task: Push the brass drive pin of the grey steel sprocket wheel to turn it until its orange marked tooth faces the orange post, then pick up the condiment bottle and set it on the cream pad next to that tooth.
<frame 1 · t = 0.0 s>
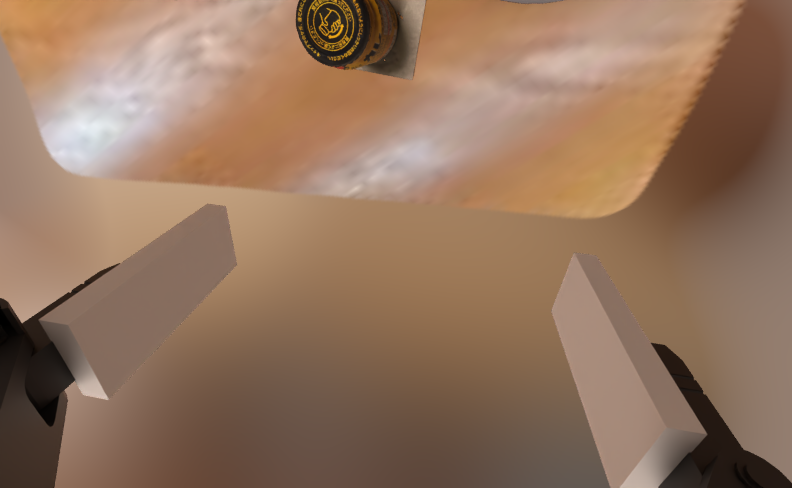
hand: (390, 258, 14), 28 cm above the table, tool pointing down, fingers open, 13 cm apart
condiment: (376, 30, 35), on the table
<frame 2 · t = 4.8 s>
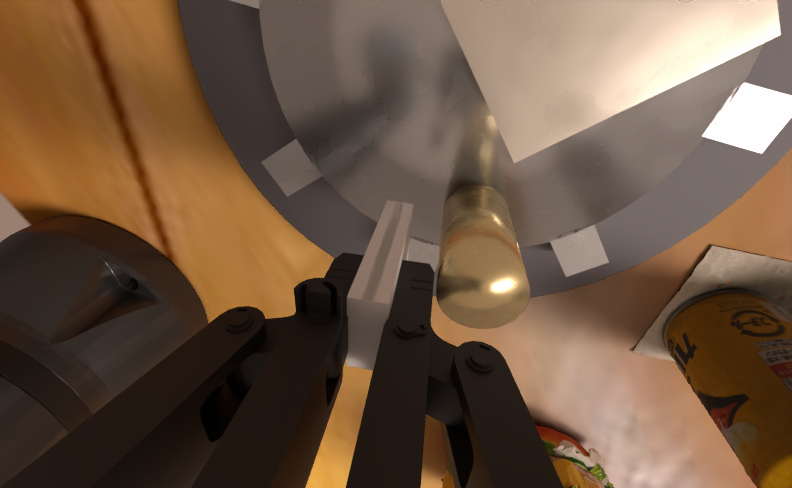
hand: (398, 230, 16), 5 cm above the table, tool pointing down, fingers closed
sprocket: (496, 46, 12), point 5 cm above the table, hinge at 5.7°, touching gripper
condiment: (726, 313, 22), on the table
burger: (516, 452, 32), on the table
sprocket base: (485, 41, 16), on the table
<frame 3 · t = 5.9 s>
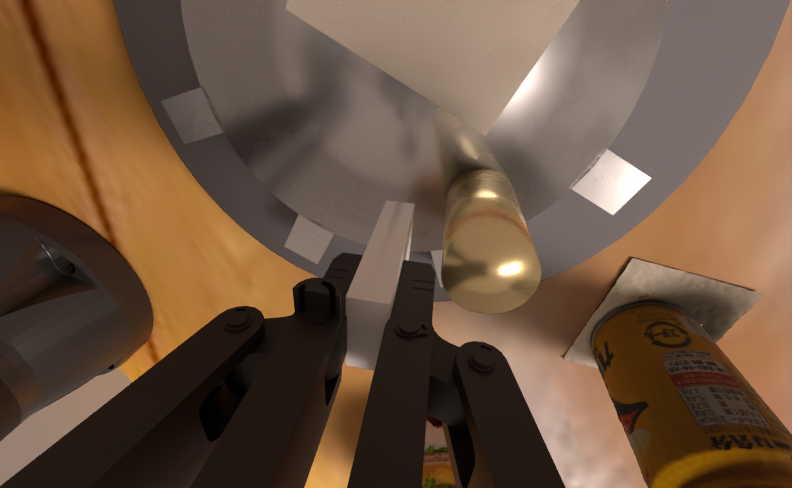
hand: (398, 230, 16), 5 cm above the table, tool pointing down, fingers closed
sprocket: (395, 50, 12), point 5 cm above the table, hinge at 38.5°, touching gripper
condiment: (649, 325, 22), on the table
burger: (458, 454, 32), on the table
sprocket base: (412, 47, 17), on the table
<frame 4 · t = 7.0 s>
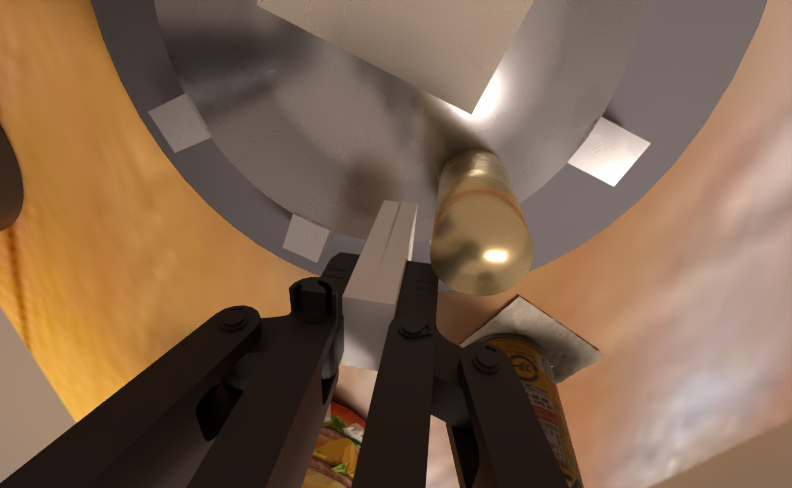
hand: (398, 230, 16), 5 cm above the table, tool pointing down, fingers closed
sprocket: (366, 34, 12), point 5 cm above the table, hinge at 65.0°, touching gripper
condiment: (514, 355, 25), on the table
burger: (318, 424, 33), on the table
sprocket base: (392, 33, 16), on the table
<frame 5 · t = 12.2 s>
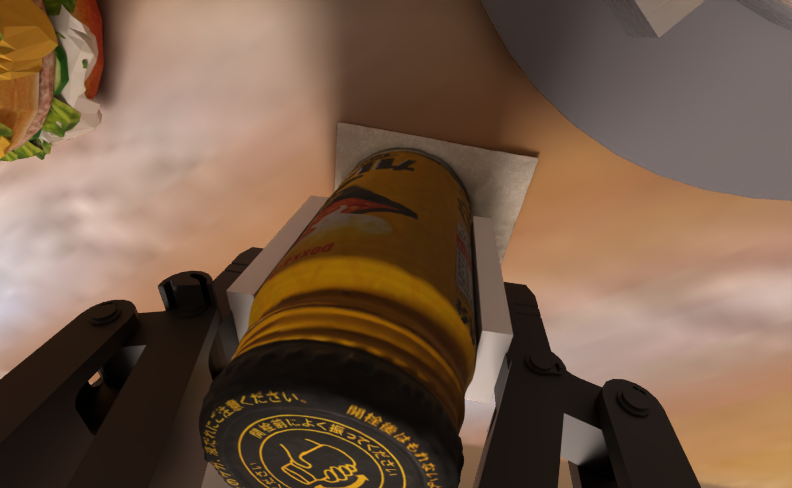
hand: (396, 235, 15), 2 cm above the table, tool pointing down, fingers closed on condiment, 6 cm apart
condiment: (421, 213, 17), on the table, touching gripper
when the fingers open (7 cm above the table, at t = 18.0 s): condiment drops 1 cm, resting on sprocket.
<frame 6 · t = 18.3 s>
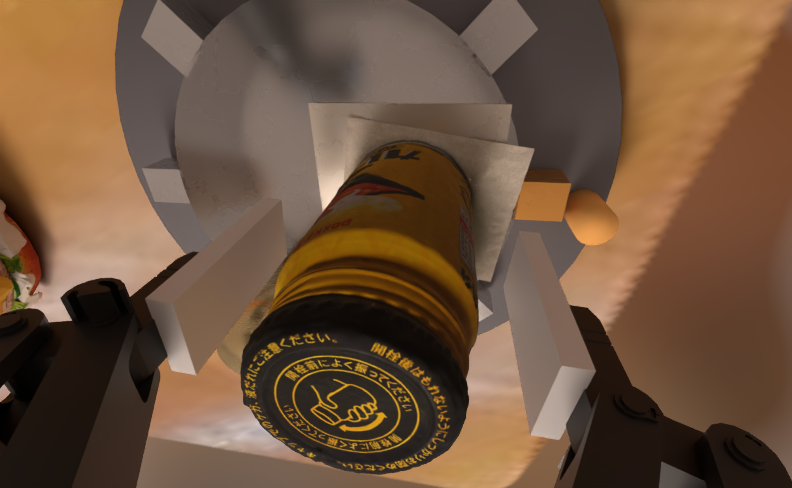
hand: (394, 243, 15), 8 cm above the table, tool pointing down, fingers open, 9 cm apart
sprocket: (329, 209, 17), point 5 cm above the table, hinge at 65.0°, touching condiment
condiment: (426, 202, 18), point 3 cm above the table, touching sprocket
sprocket base: (355, 172, 22), on the table
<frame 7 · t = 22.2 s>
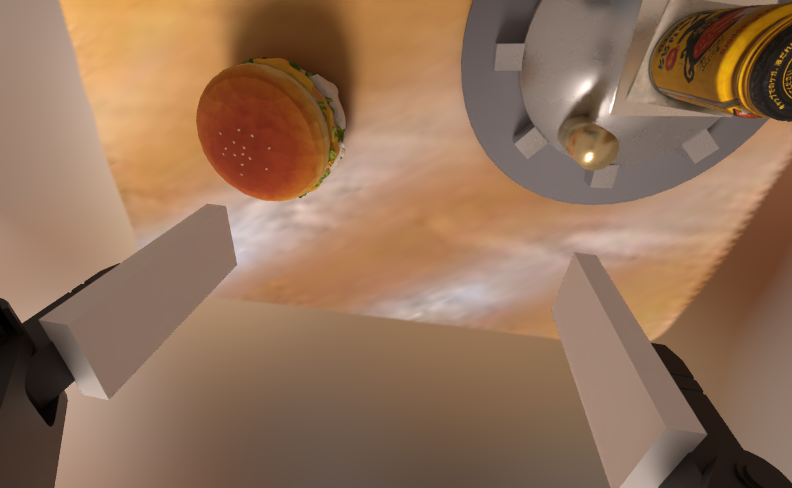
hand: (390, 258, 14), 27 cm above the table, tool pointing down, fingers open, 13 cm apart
sprocket: (650, 57, 27), point 5 cm above the table, hinge at 65.0°, touching condiment
condiment: (699, 59, 28), point 3 cm above the table, touching sprocket
burger: (293, 121, 39), on the table
sprocket base: (623, 53, 32), on the table
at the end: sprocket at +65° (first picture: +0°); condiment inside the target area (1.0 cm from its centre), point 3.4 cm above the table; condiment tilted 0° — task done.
